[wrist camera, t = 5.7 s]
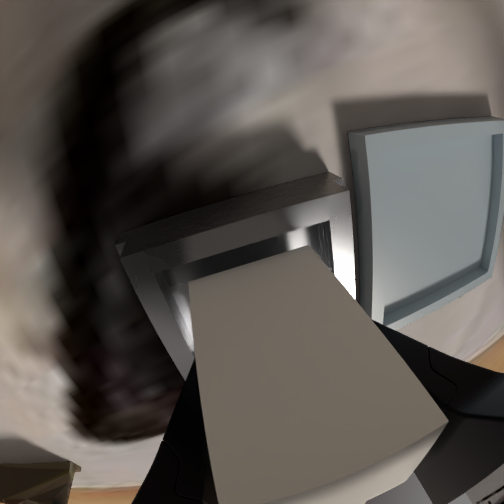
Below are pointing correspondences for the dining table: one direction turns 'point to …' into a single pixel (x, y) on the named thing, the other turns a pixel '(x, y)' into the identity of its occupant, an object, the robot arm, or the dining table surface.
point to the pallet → (233, 248)
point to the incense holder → (37, 482)
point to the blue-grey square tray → (426, 213)
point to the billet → (302, 388)
